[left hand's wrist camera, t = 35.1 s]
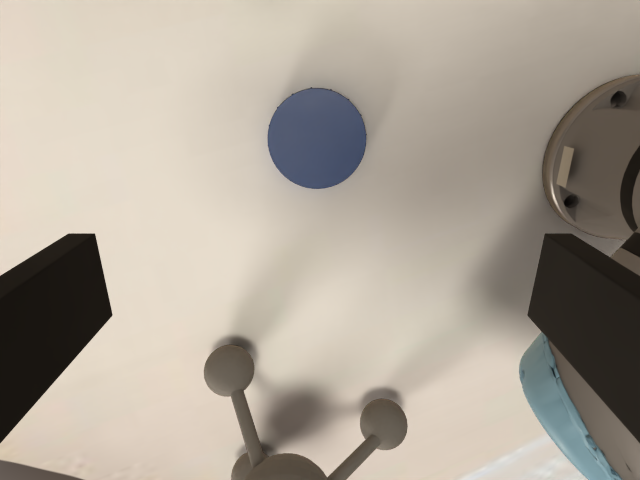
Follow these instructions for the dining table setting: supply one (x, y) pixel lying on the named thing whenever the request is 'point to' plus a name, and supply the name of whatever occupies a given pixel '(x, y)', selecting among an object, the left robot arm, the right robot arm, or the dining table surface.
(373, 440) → the molecular model
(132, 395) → the dining table surface
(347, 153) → the lid
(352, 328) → the dining table surface
